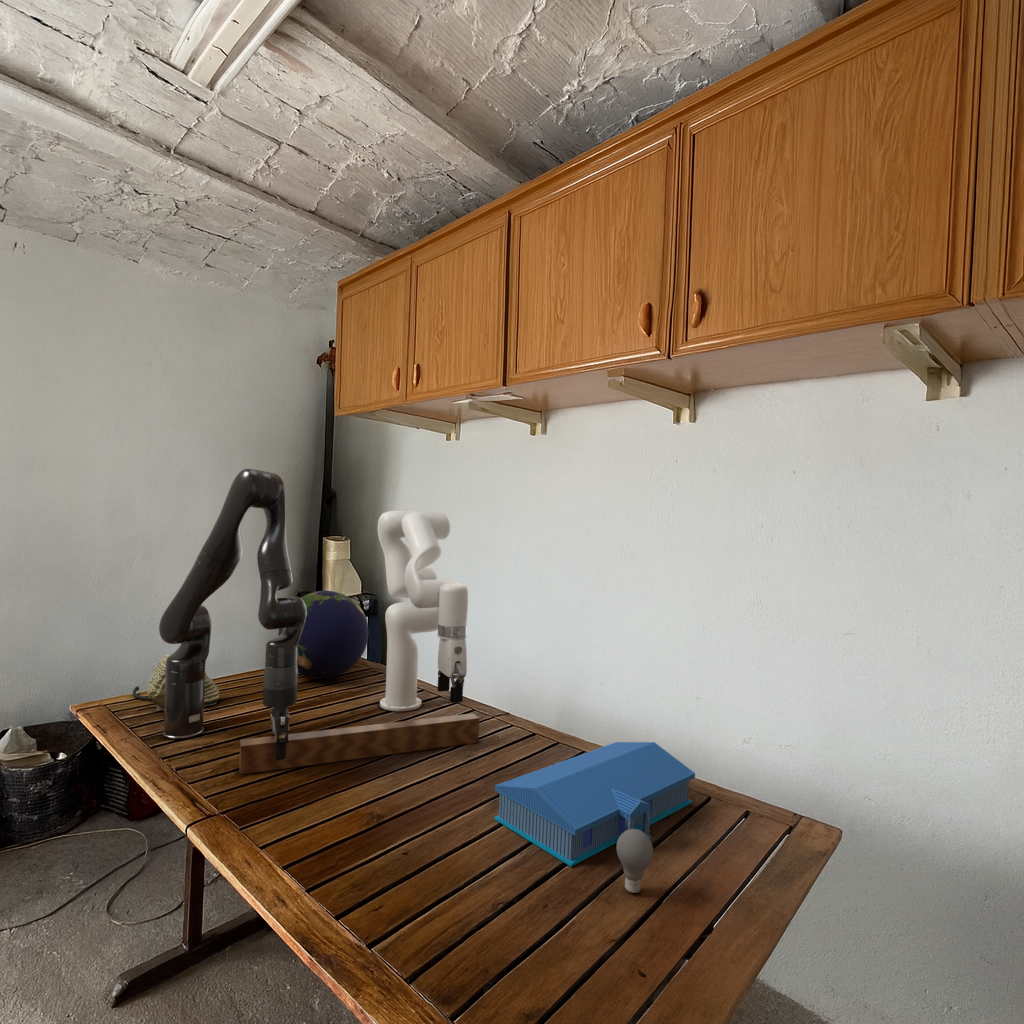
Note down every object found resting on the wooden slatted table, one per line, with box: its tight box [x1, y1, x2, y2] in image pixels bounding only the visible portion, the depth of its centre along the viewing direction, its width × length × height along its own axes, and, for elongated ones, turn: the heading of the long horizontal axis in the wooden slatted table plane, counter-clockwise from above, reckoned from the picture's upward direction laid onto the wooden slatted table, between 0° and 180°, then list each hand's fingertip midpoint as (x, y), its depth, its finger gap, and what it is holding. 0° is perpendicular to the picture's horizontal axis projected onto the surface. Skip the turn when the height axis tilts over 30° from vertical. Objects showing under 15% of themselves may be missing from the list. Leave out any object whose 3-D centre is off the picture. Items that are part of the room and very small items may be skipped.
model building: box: [493, 741, 696, 868], centre depth 132 cm, size 39×24×10 cm, turn 132°
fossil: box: [147, 654, 221, 712], centre depth 185 cm, size 9×18×15 cm, turn 132°
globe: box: [277, 590, 369, 680], centre depth 219 cm, size 30×30×30 cm
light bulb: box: [615, 829, 654, 894], centre depth 106 cm, size 6×6×10 cm
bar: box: [238, 713, 480, 775], centre depth 157 cm, size 58×4×6 cm, turn 115°
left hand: (278, 752), depth 148 cm, fingers open, 8 cm apart
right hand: (449, 696), depth 166 cm, fingers open, 9 cm apart
